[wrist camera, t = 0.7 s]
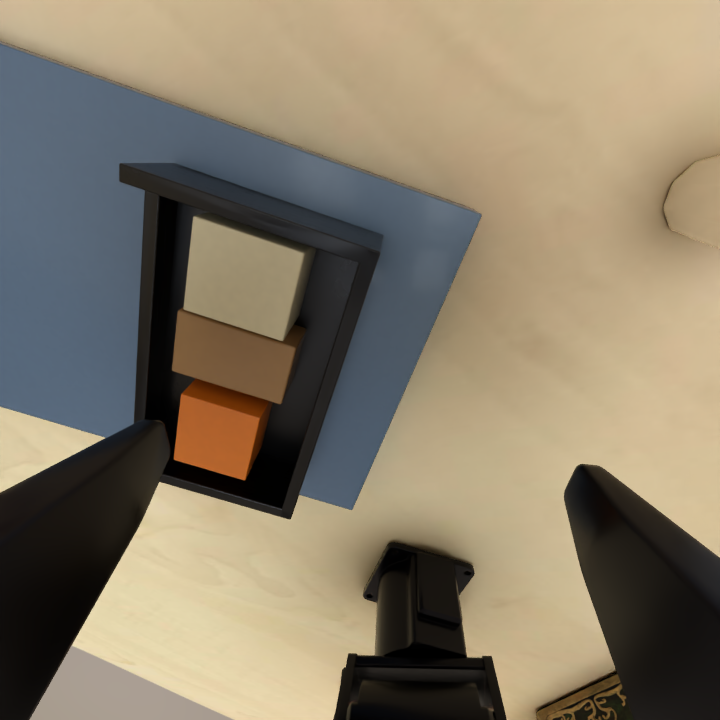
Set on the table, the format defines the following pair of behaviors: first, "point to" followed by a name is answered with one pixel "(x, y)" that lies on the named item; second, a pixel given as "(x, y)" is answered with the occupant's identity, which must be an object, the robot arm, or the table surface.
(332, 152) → the table surface
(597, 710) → the decorative box
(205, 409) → the black open tray
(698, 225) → the milkshake
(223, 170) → the blue flat slab
